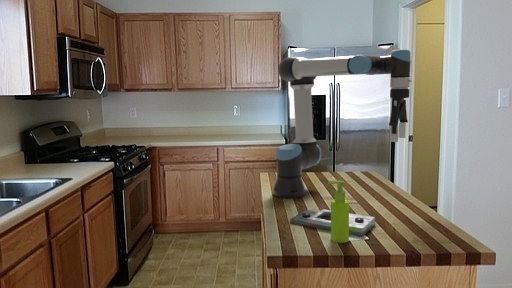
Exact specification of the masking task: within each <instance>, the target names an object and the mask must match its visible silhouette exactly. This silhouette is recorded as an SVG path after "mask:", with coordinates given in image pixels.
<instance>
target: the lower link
mask: <svg viewBox="0 0 512 288" xmlns="http://www.w3.org/2000/svg"><path fill="white" fill-rule="evenodd" d="M318 212H319V211H315V210H308V209H305V210H304V211H302V212H300V213H299V214H297V215H295V216H293V217H292V218H289V223H290V224H294V225H298V226H304V227H310V228H315V229H320V230H326V231H331V227H330V226H324V225H318V224H313V223H308V219H309V218H310V217H312V216H313V215H315V214H316V213H318ZM320 219H324V220H331V216H328V215H324V216H323V217H321V218H320Z"/></svg>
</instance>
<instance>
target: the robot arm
mask: <svg viewBox="0 0 512 288" xmlns="http://www.w3.org/2000/svg"><path fill="white" fill-rule="evenodd" d="M411 62H412V60H411V51H410V49H393V50H391V52H390V55H382V56H381V55H380V56H378V55H367V54H356V55H348V56H346V55H345V56H334V57H320V58H308V57H300V56H299V57H297V56H288V57H285V58H283V59H282V60H281V61H280V62H279V64H278V66H277V67H278V68H277V70H278V71H277V72H278V74H279V77H280V78H281V79H282V80H283V81H285V82H287V83H288V82H289V86H290V88H291V89H292V90H293V105H294V121H295V122H294V124H295V125H294V126H295V139H294V140H293V141H292V143H288V144H283V145H280V146H278V148H277V150H276V155H275V156H276V181H275V185H274V188H273V196H275V197H279V198H283V199H297V198H301V197H304V196H305V195H306V187H305V185H304V184H305V183H304V181H303V178H302V170H306V169H310V168H313V167H314V166H316V165H318V163H319V162H320V161H321V159H322V149H321V147H319V144H317V143H318V140H317V139H316V138H315V136H314V126H313V125H314V122H313V121H314V120H313V105H312V104H313V103H312V102H313V101H312V88H313V87H314V86H315V80H316V78H317V77H329V76H331V77H332V76H349V75H352V76H353V75H355V76H356V75H367V76H374V75H376V76H377V75H390V79H389V81H390V83H389V84H390V86H389V87H390V90H389V97H390V99H394V100H392V101H391V103H392V105H391V113H390V120H389V122H388V126H389V127H390V143H392V142H393V143H398V142H399V138H400V139H406V135H407V134H406V132H407V131H406V129H407V123H408V122H409V120H408V114H407V113H408V112H407V100H406V99H409V98H410V85H411V83H412V79H411Z"/></svg>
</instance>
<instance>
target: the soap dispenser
mask: <svg viewBox="0 0 512 288" xmlns="http://www.w3.org/2000/svg"><path fill="white" fill-rule="evenodd" d="M327 184H329V185H336V184H337V189H336V190H335V191H334V199H332V200H331V201H330V210H331V219H330V221H331V230H330V241H332V242H334V243H338V244H343V243H344V244H345V243H347V242H349V241H350V234H349V213H350V201H349V200H347V199H346V190H344V185H345V184H346V181H344V180H331V181H330V180H329V181H328V182H327Z"/></svg>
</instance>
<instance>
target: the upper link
mask: <svg viewBox="0 0 512 288" xmlns="http://www.w3.org/2000/svg"><path fill="white" fill-rule="evenodd" d="M317 212H318V213H316V214H315V215H313V216H312V217H310V218H309V219H308V223H313V224H318V225H324V226H330V227H331V219H320V218H321V217H323V216H324V215H328V216H331V209H330V210H329V209H325V208H324V209H321V210H319V211H317ZM375 225H376V217H375V216H368V215H361V214H356V213H350V212H349V235H352V234H353V236H358V235H359V237H364V236H365V235H366V234H367V233H368V232H369V231H370V230H371V229H373V227H374V226H375ZM363 235H364V236H363Z"/></svg>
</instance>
